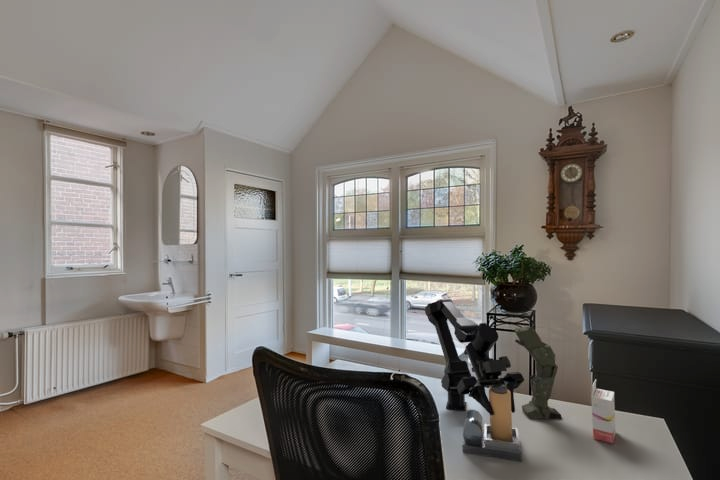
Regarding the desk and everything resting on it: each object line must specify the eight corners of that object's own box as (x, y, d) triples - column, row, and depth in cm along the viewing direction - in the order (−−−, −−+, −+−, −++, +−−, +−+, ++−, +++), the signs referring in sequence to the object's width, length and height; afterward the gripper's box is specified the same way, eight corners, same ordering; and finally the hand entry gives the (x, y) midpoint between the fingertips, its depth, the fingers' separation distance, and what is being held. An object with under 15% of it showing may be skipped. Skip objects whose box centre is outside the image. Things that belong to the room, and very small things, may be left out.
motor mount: (465, 431, 106) (464, 407, 106) (517, 438, 101) (516, 414, 101) (462, 452, 95) (461, 426, 95) (521, 461, 90) (520, 434, 90)
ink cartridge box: (614, 444, 97) (611, 390, 97) (592, 439, 100) (590, 386, 100) (616, 432, 103) (614, 381, 104) (596, 427, 106) (593, 377, 107)
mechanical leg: (565, 407, 118) (538, 320, 120) (575, 417, 111) (547, 324, 113) (523, 416, 119) (498, 329, 121) (531, 427, 112) (504, 334, 114)
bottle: (495, 431, 101) (493, 382, 101) (515, 438, 97) (513, 387, 98) (487, 439, 97) (485, 388, 97) (507, 447, 93) (505, 393, 94)
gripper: (460, 348, 100) (482, 404, 89) (519, 344, 104) (547, 397, 92) (448, 368, 107) (468, 422, 96) (504, 363, 111) (528, 414, 100)
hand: (503, 413), depth 96 cm, fingers open, 6 cm apart
